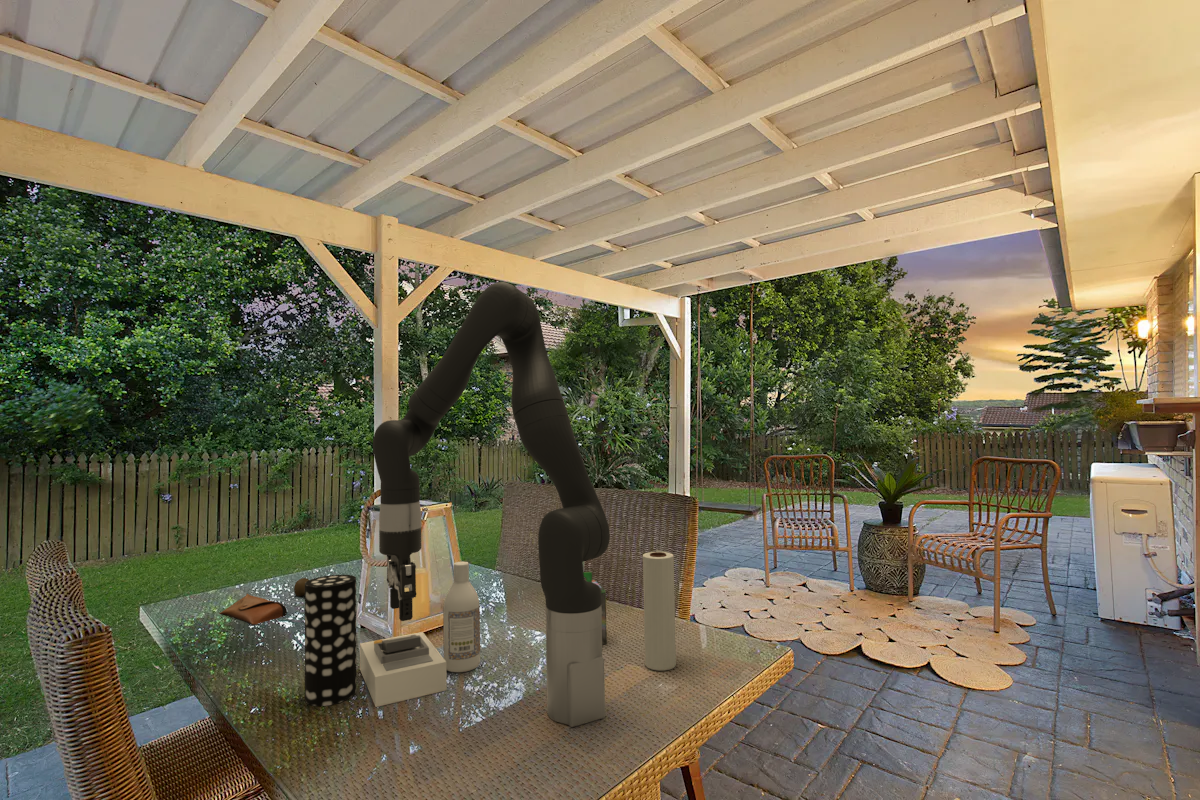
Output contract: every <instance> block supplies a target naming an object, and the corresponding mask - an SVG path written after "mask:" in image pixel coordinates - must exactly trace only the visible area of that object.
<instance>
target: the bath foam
mask: <svg viewBox="0 0 1200 800" xmlns="http://www.w3.org/2000/svg"><path fill="white" fill-rule="evenodd" d="M469 570H470V564H469V562H468V561H456V562H454V563H453V583H452V584H451V586H450V587H449V589H448V591H447V593H446V595H445V597H444V600H443V606H442V607H443V608H442V609H443V610H442V613H443V616H442V617H443V618H442V620H443V621H442V624H443V625H442V626H443V628H442V629H443V631H442V632H443V658H444V659H445V661H446V671H448V672H450V673H465V672H469V671H473V670H475V669H476V668H478V667H479V666H480V663H481V622H480V621H481V613H480V611H481V609H480V608H481V606H480V600H479V595H478V593H477V590H476V589H475V588H474V586H473V585H472V583H471V582H470V571H469Z"/></svg>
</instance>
